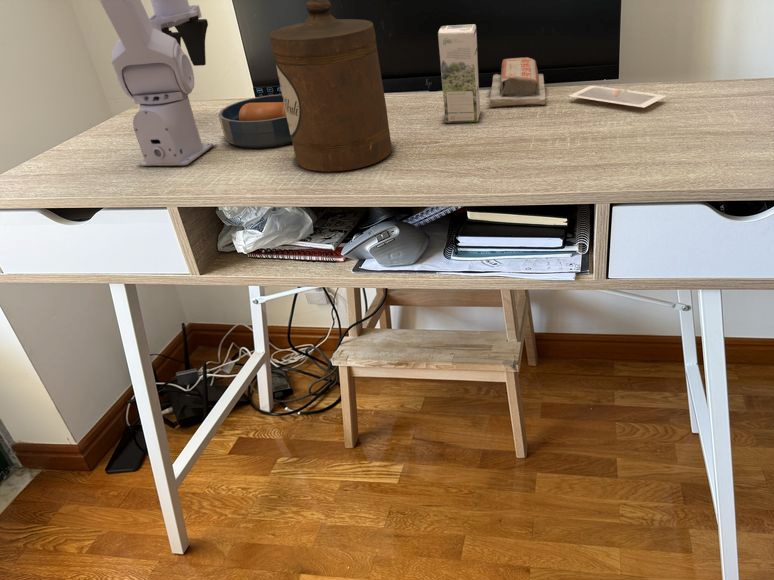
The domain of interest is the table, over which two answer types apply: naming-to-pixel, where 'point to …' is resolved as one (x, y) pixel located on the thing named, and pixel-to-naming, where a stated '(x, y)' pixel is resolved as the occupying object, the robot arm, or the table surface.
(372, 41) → the wooden container
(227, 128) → the bowl
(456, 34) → the syrup box
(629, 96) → the touchpad
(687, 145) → the table surface
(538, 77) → the packaged product
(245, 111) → the bun
